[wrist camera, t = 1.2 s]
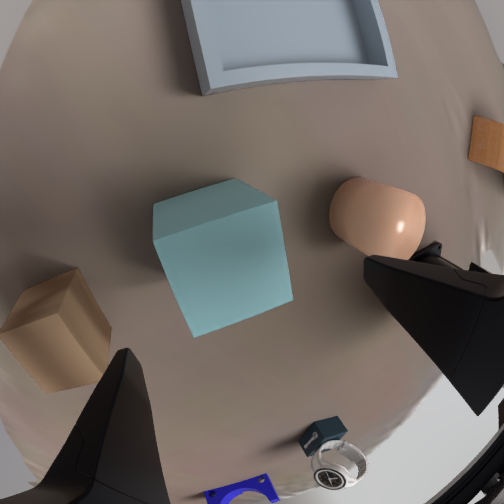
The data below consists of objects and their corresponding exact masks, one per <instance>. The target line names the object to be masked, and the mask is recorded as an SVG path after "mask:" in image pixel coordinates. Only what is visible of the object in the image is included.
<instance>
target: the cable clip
mask: <svg viewBox="0 0 504 504" xmlns="http://www.w3.org/2000/svg"><path fill="white" fill-rule="evenodd" d="M262 479H265V481H264V482H262V483H260V481H261V480H262ZM244 491H256V492H259V493H262V494H264V495H265V496H267V498H268V499H269V501H270V502H272V503H274V502H277V501H279V500H280V499H279V497H278V495H277V493H276V491H275V489H274V487H273V485H272V483H271V481H270V479H269V477H268V475H267V474H266V473H265V474H263V475H260V476H257V477H254V478H251V479H248V480H245V481H241V482H238V483H235V484H231V485H228V486H224V487H220V488H216V489H212V490H208V491H204V494H205V497H206V500H207V503H208V504H229V502H230V501H231V500H232V499H233V498H234V497H236V496H238V495H240V494H242V492H244Z"/></svg>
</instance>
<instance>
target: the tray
mask: <svg viewBox="0 0 504 504" xmlns="http://www.w3.org/2000/svg"><path fill="white" fill-rule="evenodd" d="M181 4H182V8H183V13H184V17H185V22H186V27H187V31H188V36H189V40H190V44H191V49H192V53H193V58H194V62H195V66H196V71H197V75H198V80H199V84H200V88H201V92H202V96H206V95H211V94H216V93H221V92H226V91H231V90H237V89H243V88H249V87H256V86H263V85H271V84H279V83H289V82H301V81H317V80H380V79H391V78H398V76H397V71H396V66H395V61H394V57H393V52H392V48H391V44H390V40H389V36H388V32H387V29H386V25H385V22H384V18H383V15H382V12H381V9H380V6H379V3H378V0H181Z"/></svg>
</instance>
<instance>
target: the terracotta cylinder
mask: <svg viewBox="0 0 504 504" xmlns="http://www.w3.org/2000/svg"><path fill="white" fill-rule="evenodd" d="M329 222H330V226H331V228H332V230H333V232H334V233H335V234H336V236H338V237H339V238H340V239H342V240H344V241H345V242H347V243H349V244H350V245H352V246H353V247H355V248H356V249H358V250H360V251H361V252H363V253H364V254H366V255H367V256H370V255H380V256H386V257H392V258H398V259H404V260H408V259H410V257H411V256H412V255H413V254H414V252H415V251H416V249H417V248H418V246H419V244H420V242H421V239H422V236H423V233H424V229H425V222H426V215H425V208H424V205H423V203H422V201H421V199H420V198H419V197H418V196H417V195H415V194H413V193H410V192H407V191H404V190H401V189H398V188H395V187H392V186H389V185H385V184H382V183H379V182H376V181H372V180H369V179H366V178H362V177H355V178H351V179H349V180H347V181H345V182H344V183H343V184H342V185H341V186H340V187H339V188H338V189H337V191H336V192H335V194H334V196H333V198H332V200H331V204H330V208H329Z"/></svg>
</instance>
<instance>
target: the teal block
mask: <svg viewBox="0 0 504 504" xmlns="http://www.w3.org/2000/svg"><path fill="white" fill-rule="evenodd" d="M153 243H154V246H155V248H156V251H157V254H158V256H159V259H160V261H161V264H162V266H163V269H164V271H165V274H166V276H167V279H168V281H169V283H170V286H171V288H172V290H173V293H174V295H175V297H176V300H177V302H178V304H179V306H180V309H181V311H182V313H183V315H184V318H185V320H186V322H187V324H188V326H189V328H190V330H191V333H192V335H193V337H194V338H195V337H198V336H201V335H203V334H206V333H209V332H212V331H215V330H217V329H220V328H223V327H226V326H228V325H231V324H234V323H236V322H239V321H242V320H244V319H247V318H250V317H252V316H255V315H257V314H260V313H263V312H265V311H268V310H270V309H273V308H275V307H278V306H280V305H283V304H285V303H287V302H290V301H292V300H293V295H292V289H291V282H290V276H289V269H288V263H287V257H286V251H285V245H284V239H283V233H282V227H281V221H280V215H279V210H278V204H277V201H276V200H275V199H273V198H271V197H269V196H268V195H266V194H264V193H262V192H260V191H259V190H257V189H255V188H253V187H251V186H249V185H248V184H246V183H244V182H242V181H240V180H238V179H236V178H234V179H231V180H227V181H224V182H220V183H217V184H214V185H210V186H207V187H204V188H201V189H197V190H194V191H191V192H188V193H185V194H182V195H179V196H176V197H173V198H170V199H167V200H164V201H161V202H158V203H155V204H153Z"/></svg>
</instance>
